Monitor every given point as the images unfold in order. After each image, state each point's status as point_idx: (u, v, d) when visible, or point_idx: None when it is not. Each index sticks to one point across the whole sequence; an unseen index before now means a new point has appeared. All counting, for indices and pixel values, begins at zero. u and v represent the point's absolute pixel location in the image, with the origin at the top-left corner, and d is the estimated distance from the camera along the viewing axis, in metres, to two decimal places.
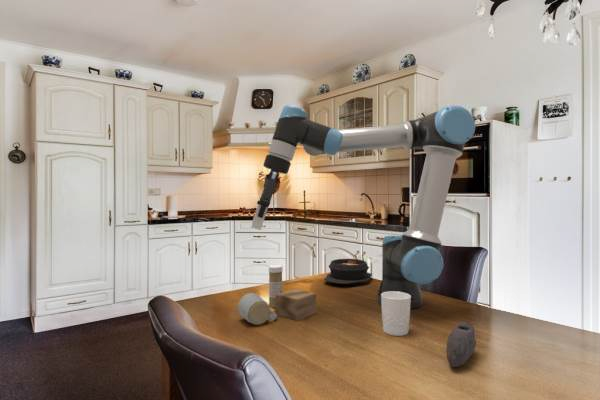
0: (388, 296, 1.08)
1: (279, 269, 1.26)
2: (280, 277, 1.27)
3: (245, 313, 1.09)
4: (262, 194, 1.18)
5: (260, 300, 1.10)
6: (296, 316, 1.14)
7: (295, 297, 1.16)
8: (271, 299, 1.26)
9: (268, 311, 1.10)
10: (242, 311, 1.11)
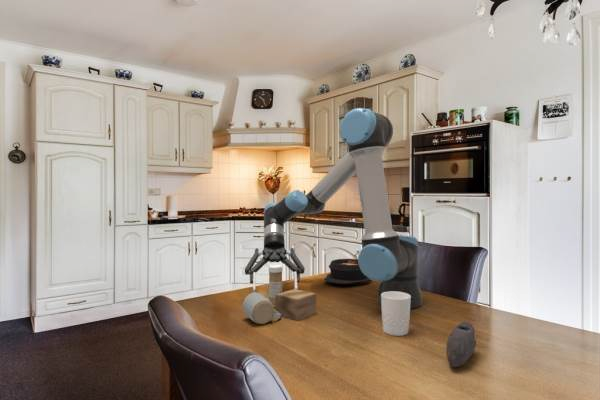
0: (388, 296, 1.08)
1: (279, 269, 1.26)
2: (280, 277, 1.27)
3: (249, 312, 1.10)
4: (289, 268, 1.34)
5: (264, 299, 1.11)
6: (296, 316, 1.14)
7: (295, 297, 1.16)
8: (271, 299, 1.26)
9: (272, 310, 1.11)
10: (246, 310, 1.12)
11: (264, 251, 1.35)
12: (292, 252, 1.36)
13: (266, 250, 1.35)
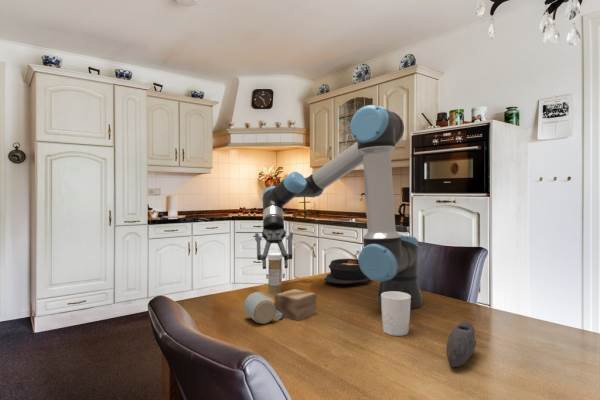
0: (388, 296, 1.08)
1: (279, 257, 1.26)
2: (279, 265, 1.26)
3: (251, 312, 1.10)
4: None
5: (266, 299, 1.11)
6: (296, 316, 1.14)
7: (295, 297, 1.16)
8: (270, 287, 1.26)
9: (274, 310, 1.11)
10: (248, 310, 1.12)
11: (264, 233, 1.35)
12: (289, 236, 1.34)
13: (265, 231, 1.35)
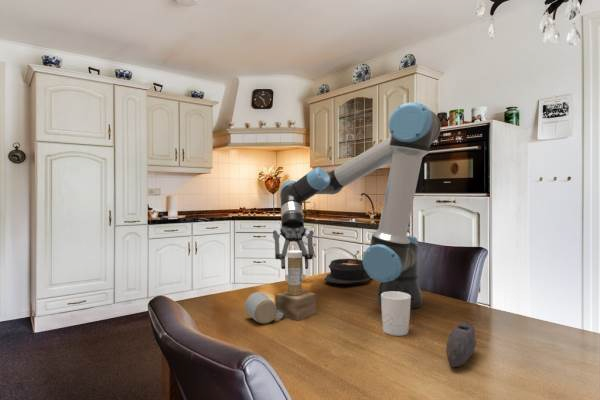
0: (388, 296, 1.08)
1: (299, 255, 1.17)
2: (300, 263, 1.18)
3: (252, 312, 1.10)
4: None
5: (267, 299, 1.11)
6: (296, 316, 1.14)
7: (295, 297, 1.16)
8: (290, 286, 1.18)
9: (275, 310, 1.11)
10: (249, 310, 1.12)
11: (283, 230, 1.26)
12: (310, 234, 1.26)
13: (284, 228, 1.27)
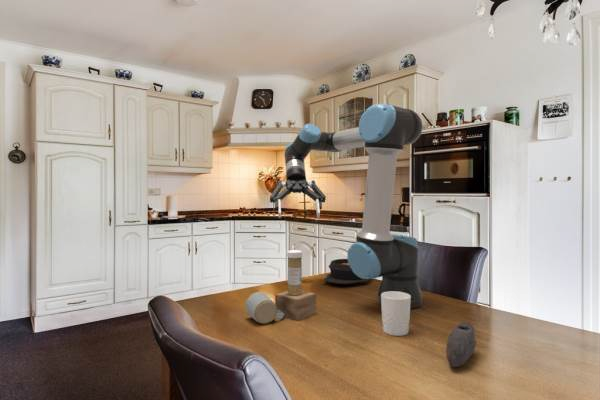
0: (388, 296, 1.08)
1: (299, 254, 1.17)
2: (300, 263, 1.18)
3: (252, 312, 1.10)
4: None
5: (267, 299, 1.11)
6: (296, 316, 1.14)
7: (295, 297, 1.16)
8: (290, 286, 1.18)
9: (275, 310, 1.11)
10: (249, 310, 1.12)
11: (287, 182, 1.43)
12: (313, 183, 1.44)
13: (289, 182, 1.44)
